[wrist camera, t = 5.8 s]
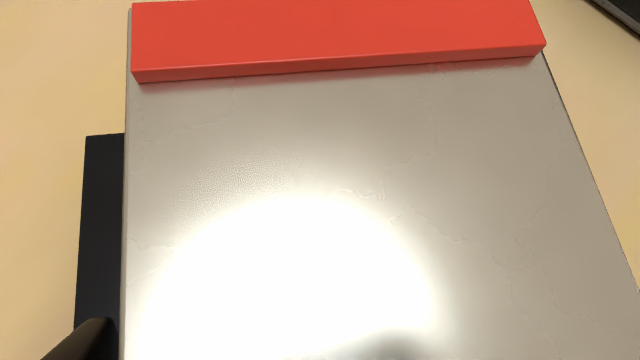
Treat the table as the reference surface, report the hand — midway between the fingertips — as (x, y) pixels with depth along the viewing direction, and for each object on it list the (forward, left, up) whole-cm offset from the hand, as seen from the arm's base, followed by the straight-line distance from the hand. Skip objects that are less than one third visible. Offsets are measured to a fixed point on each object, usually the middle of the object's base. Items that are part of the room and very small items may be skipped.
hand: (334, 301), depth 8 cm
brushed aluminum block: (-1, 0, -4) cm, 4 cm away
